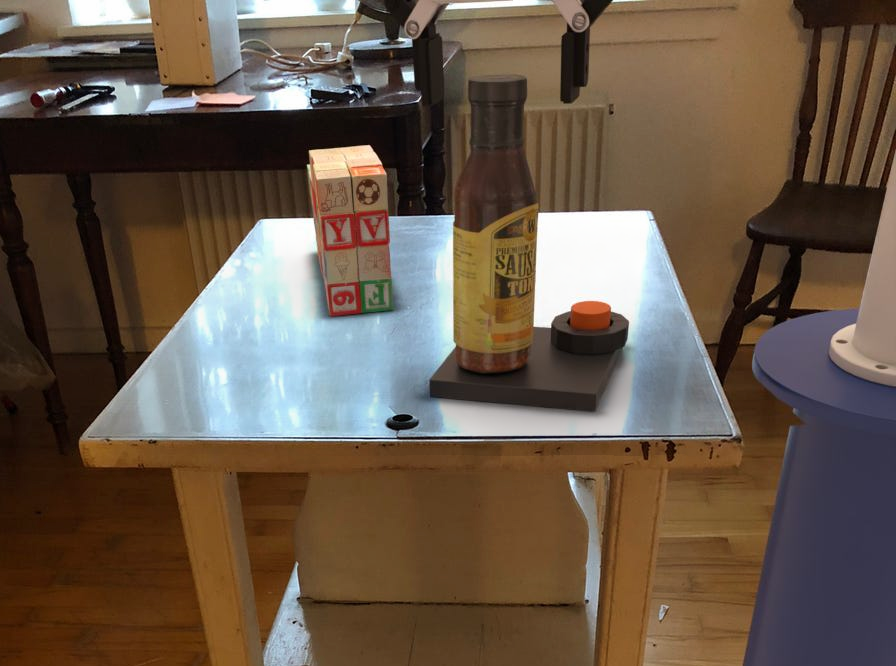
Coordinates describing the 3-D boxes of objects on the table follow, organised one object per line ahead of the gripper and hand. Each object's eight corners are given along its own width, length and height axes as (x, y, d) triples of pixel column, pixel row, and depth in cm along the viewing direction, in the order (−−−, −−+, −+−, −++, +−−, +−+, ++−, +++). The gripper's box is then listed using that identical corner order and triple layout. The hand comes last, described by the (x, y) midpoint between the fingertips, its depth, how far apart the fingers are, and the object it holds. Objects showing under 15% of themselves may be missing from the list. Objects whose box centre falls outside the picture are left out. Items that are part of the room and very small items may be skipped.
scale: (630, 346, 83) (633, 311, 81) (602, 412, 73) (605, 373, 71) (476, 335, 86) (476, 302, 85) (429, 396, 76) (428, 359, 75)
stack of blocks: (315, 253, 109) (303, 132, 102) (371, 248, 110) (362, 127, 102) (329, 317, 92) (315, 176, 85) (395, 310, 93) (386, 170, 85)
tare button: (612, 320, 80) (614, 301, 79) (605, 334, 78) (607, 315, 77) (574, 318, 81) (575, 299, 80) (566, 331, 79) (567, 312, 78)
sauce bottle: (504, 383, 74) (506, 86, 62) (438, 367, 77) (428, 82, 65) (549, 356, 78) (559, 72, 66) (484, 342, 81) (483, 68, 69)
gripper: (656, -246, 57) (636, 89, 67) (378, -212, 62) (399, 95, 72) (637, -258, 51) (618, 109, 61) (333, -219, 56) (363, 114, 66)
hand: (500, 101), depth 67 cm, fingers open, 9 cm apart
